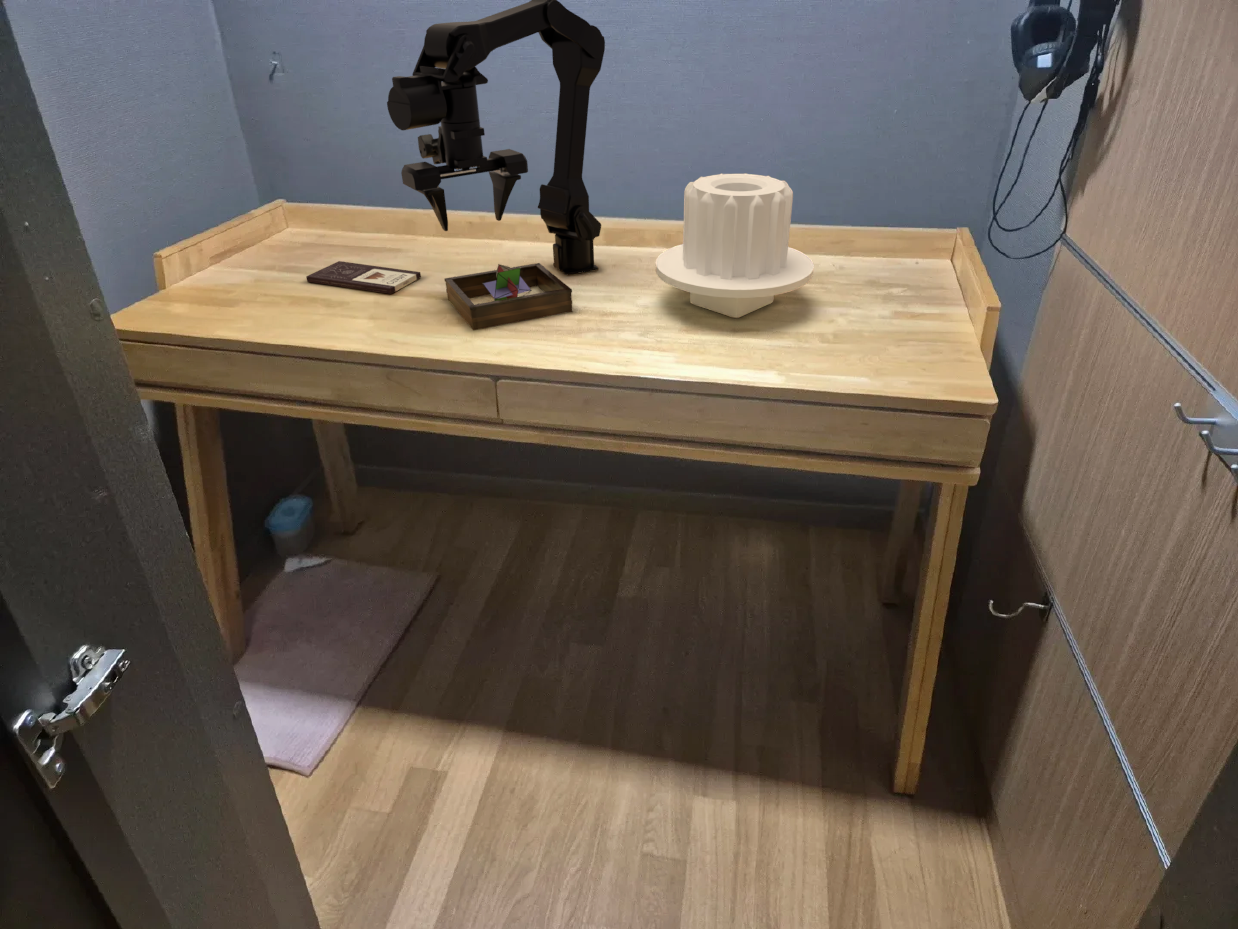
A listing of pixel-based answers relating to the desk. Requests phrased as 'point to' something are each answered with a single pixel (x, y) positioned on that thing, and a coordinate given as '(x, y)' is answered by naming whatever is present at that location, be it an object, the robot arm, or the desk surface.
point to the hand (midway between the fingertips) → (472, 225)
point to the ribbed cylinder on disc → (735, 244)
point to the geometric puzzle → (506, 283)
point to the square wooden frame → (510, 309)
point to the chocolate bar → (364, 277)
